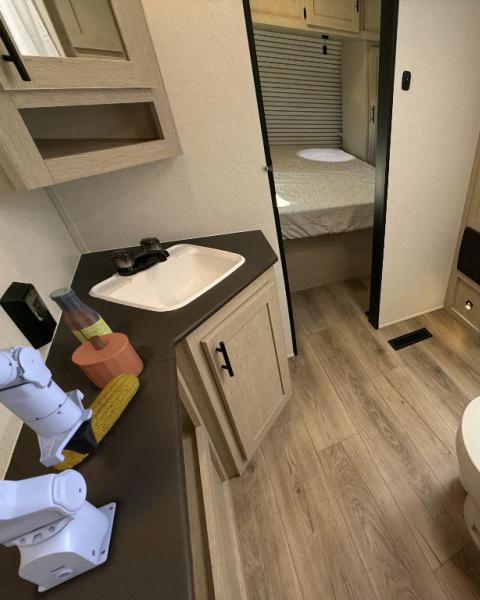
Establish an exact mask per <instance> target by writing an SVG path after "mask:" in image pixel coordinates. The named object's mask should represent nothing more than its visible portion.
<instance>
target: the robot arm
mask: <svg viewBox="0 0 480 600" xmlns="http://www.w3.org/2000/svg"><path fill="white" fill-rule="evenodd" d="M84 396H85V395H84V394H83V393H82V392H81V391H80V390H79V389H74V390H71V391H67V392H64V391H63V389H62V388H61V387H60V386H59V385H58V384H57V383H56V382H55V381H54V380H53V379H52V373H51V370H50V369H49V368H48V367H47V365H46V363H45V360H44V358H43V356H42V353H41V352H40V351H39V349H36V348H33V347H31V346H25V345H21V344H20V345H19V344H18V345H14V346H9V347H6V348H1V349H0V403H1V404H2V405H3V406H4V407H5V408H6V409H8V410H9V411H10V412H11V413H12V414H13V415H15V416H16V417H17V418H18V419H19V420H21V422H23V423H24V424H26V426H28V427H29V428H30V429H31V430H33V431H34V432H35V433H36V436H37V441H38V445H39V450H40V458H39V463H41V464H42V465H43V466H44V467H46V468H48V467H49V468H50V467H52V466H54V465H55V464H58V463H60V462H63V460H64V456H63V455H62V454H61V452H62V450H63V449H65V450H70V451H74V452H77V453H80V454H83V455H85V454H88V453H89V454H90V453H94V452H96V451H97V449H98V445H99V443H97V440H96V438H95V435H94V433H93V429H92V424H91V417H92V410H91V409H88V408H86V409H85V408H84V405H83V402H82V400H83V399H84ZM89 454H88V455H89ZM86 498H87V483H86V480H85V478H84V477H83V475H82V474H81V473H80V472H79V471H77V470H75V469H73V468H71V469H67V470H65V471H64V470H62V471H61V472H59V473H48V474H43V475H39V476H34V477H29V478H25V479H21V480H20V479H19V480H8V479H7V480H6V479H0V545H3V546H5V547H7V548H10V547H13V546H17V548H18V550H19V553H20V563H19V567H18V576H19V578H21V579H24V580H26V581H28V582H31V583H33V584H35V585H37V586H38V589H37V591H38V592H39V593H43V592H46V591H48V590H49V589H51V588H54V587H56V586H58V585H60V584H62V583H64V582H66V581H68V580H70V579H73V578H74V577H76V576H79V575H81V574H83V573H85V572H88V571H89V570H92V569H94V568H96V567H98V566H100V565H102V564H104V563H105V562H106V561H107V559H108V554H109V549H110V548H109V547H110V541H111V537H112V530H113V523H114V517H115V512H116V505H117V503H116V502H110V503H108V504H105V505H103V506H101V507H96V506H94V505H93V504H91V502H89V501H88V500H86Z"/></svg>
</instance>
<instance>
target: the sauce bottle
mask: <svg viewBox="0 0 480 600" xmlns="http://www.w3.org/2000/svg"><path fill="white" fill-rule="evenodd" d="M49 298H50V299H51V301H53V302H55V303H56V305H57V306H58V307H59V308H60V310H61V312H62V321H63V322H64V323H65V325H66V326H67V327H68V329H69V330H70V331H71V332H72V333H73V335H74V336H75V337H76V338H77V339H78V340H79V342H81V345H82V344H84V343H86V342H87V341H88V339H89V338H90V337H92V336H96V335H98V336H101V335H105V334H109V333H114V332H113V331H112V329H111V328H110V326H109V325H108V324H107V323H106V322H105V319H103V318H102V316H101V314H100V313H98V311H96V310H95V309H93V308H92V307H90V306H89V305H87V304H86V303H84V302H82V301H81V300H80V299H79V297H78V296H77V295H76V292H75V290H74V289H72V287H68V286H67V287H66V286H65V287H61V288H58V289H55V290H53V291H51V292H50V293H49Z"/></svg>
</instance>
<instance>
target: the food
mask: <svg viewBox="0 0 480 600" xmlns="http://www.w3.org/2000/svg"><path fill="white" fill-rule="evenodd" d="M139 381H140V380H139V378H138V376H137V377H136V376H135V375H133V374H125V373H123V374H121V375H118V376H116V377H114V378H113V379H112V380H111V381H110V382H109V383H108V384H107V385H106V386H105V388H104V389H101V391H100V392H99V394H98V396H96V398H95V399H94V401H93V402H92V404H91V405H89V407H88V408H87V409H91V410H92V417H91V424H92V429H93V433H94V435H95V438H96V440H97V443H98V444H99V443H100V441H102V440H103V438H104V437H105V435H106V434H107V433H108V432H109V431H110V430H111V428H112V427H113V426H114V425H115V423H116V422H117V421H118V419H119V418H120V416H121V415H122V413H123V412H124V410H125V409H126V407H127V406H128V404H129V403H130V401H131V400H132V398H133V397H134V396H135V395H136V393H137V392H138V389H139V386H140V382H139ZM61 454H62V455H63V456H64V460H63V462H60V463H58V464H55V465H53V469H54V470H57V471H65V470H68V469H73V467H74V466H77V465H78V464H80V463H81V462H83V460H84V459H86V458H87V456H89V454H90V453H88V454H85V455H83V454H80V453H77V452H74V451H70V450H65V449H63V450H62V452H61Z"/></svg>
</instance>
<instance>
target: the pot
mask: <svg viewBox="0 0 480 600" xmlns="http://www.w3.org/2000/svg"><path fill="white" fill-rule="evenodd" d="M77 366H78V367H79V368H80V369H81V370H82V371H83V373H84V374H85V376H87V378H88V379H89V380H90V381H91V382H92V383H93V385H94V386H95V387H97V388H99V389H101V390H103V389H104V388H105V386H106V385H107V384H108V383H109V382H110V381H111V380H112V379H113V378H114V377H116V376H118V375H121V374H123V373H125V374H133V375H135V376H136V377H137V378H138V376H139V375H140V374H141V372H142V371H143V369H144V362H143V361H142V359H141V358H140V356H139V354H138V353H137V352H136V350H135V349H134V347H133V346H132V344H131V343H130V341H129V342H128V345H127V346H126V348H125V349H124V350H123V351H122V352H120V353H119V354H118V355H116V356H114V357H113V358H111V359H109V360H107V361H104V362H101V363H98V364H94V365H88V366H81V365H77Z"/></svg>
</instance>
